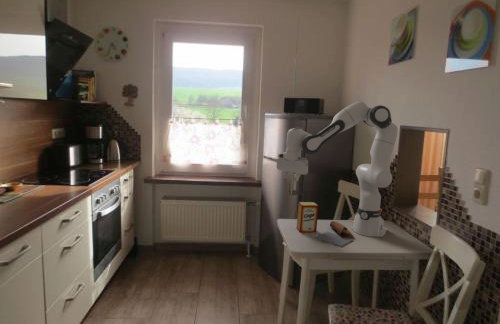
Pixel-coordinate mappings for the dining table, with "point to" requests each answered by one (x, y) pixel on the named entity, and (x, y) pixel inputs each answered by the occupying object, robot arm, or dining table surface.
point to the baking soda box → (307, 217)
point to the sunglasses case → (341, 230)
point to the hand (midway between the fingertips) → (291, 179)
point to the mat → (334, 239)
